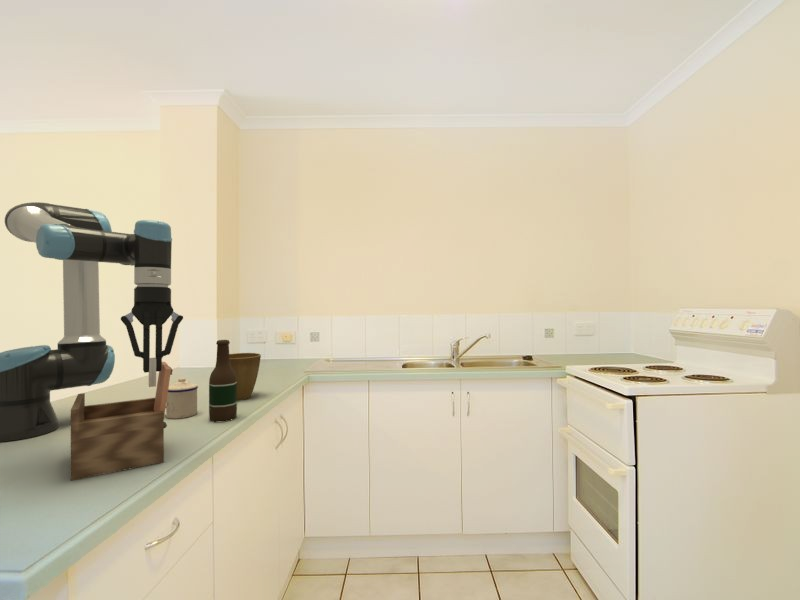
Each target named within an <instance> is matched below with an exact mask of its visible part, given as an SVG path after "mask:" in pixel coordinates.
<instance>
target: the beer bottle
mask: <svg viewBox="0 0 800 600" xmlns="http://www.w3.org/2000/svg"><path fill="white" fill-rule="evenodd" d="M230 343H231V342H230V340H229V339H218V340H217V341H216V343H215V344H216V345H217V347H216V360H215V366H214V367H213V368H214V369H213V370H212V371H211V373H210V375H209V380H208V382H209V383H208V415H209V417H208V418H209V420H210V421H211V422H213V421H214V422H213V423H217V422H216V421H225V422H227V421H226V420H229V421H232V420H231V419H233V420H234V419H236V417H238V416H237V414H238V411H237V410H238V400H237V378H236V374H235V371H234V370H233V368H232V367H231V365H230V357H229V354H230V347H229V346H230Z"/></svg>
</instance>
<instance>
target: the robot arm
mask: <svg viewBox="0 0 800 600" xmlns="http://www.w3.org/2000/svg"><path fill="white" fill-rule="evenodd" d="M4 224H5V225H4V226H5V227H6V229H7V231H8V232H9V233H10V234H11V235H13V237H15V238H17V239H18V240H21V241H23V242H29V243H35V246H36V250H37V253H38V254H39V256H40V257H42V258H44V259H45V258H46V259H47V258H48V259H54V260H59V261H62V283H63V284H62V285H63V287H62V288H63V290H62V291H63V292H62V293H63V295H62V296H63V298H62V299H63V337H62V338H61V339H60V340H59V341H58V342H57V349H52V347H50V345H48V344H47V345H46V344H43V345H42V344H41V345H35V346H32V345H31V346H27V347H26V346H25V347H20V348H14V349H8V350H4V351H1V352H0V442H1V443H2V442H10V441H17V440H23V439H29V438H34V437H37V436H42V435H46V434H49V433H51V432H53V431H55V430H58V428H59V419H58V417H57V414H56V412H55V409H54V407H53V405H52V403H51V392H52V391H57V390H58V391H59V390H66V389H71V388H73V389H74V388H78V387H90V386H92V385H99V384H102V383H105V382H106V381H107V380H108V379H110V377H111V375H112V373H113V372H114V367H115V361H116V360H115V359H116V355H115V352H114V348H113V346H111V345H109V344H107V340H106V338H104V337H103V336H101V331H100V330H101V329H100V328H101V324H100V321H101V320H100V319H101V318H100V279H99V278H100V277H99V276H100V275H99V274H100V272H99V271H100V270H99V267H100V266H99V263H109V264H120V265H123V266H131V267H132V266H134V267H133V269H134V272H133V273H134V277H133V278H134V280H133V281H134V282H133V284H134V285H136V286H135V287H134V288H133V306H132V308H131V312H129V313H127V314H125V315H122V316H121V317H120V321H121V322H122V323H123V324H124V326H125V328H126V331H127V334H128V337H129V340H130V344H131V347H132V352H133V355H134V357H137V358H141V359H142V361H143V362H142V370H143V373H148V387H149V388H151V387H152V388H153V387H155V388H156V387H157V372H158V373H159V371H161V369H162V362H163V358H164V357H166V356H169V355H170V354H171V352H172V349H173V346H174V342H175V338H176V334H177V331H178V328H179V325H180V323H181V322H182V320H183V319H184V315H181V314H178V313H177V312H175V311H174V308H173V306H172V289H171V287H169V286H171V285H172V242H173V238H172V229H171V228H172V227H171V226H170V224H169V223H166V222H164V221H159V220H152V219H141V220H137V221H136V222H135V224H134V229H133V233H125V232H124V233H123V232H116V231H112V226H111V223H110V221H109V219H108V217H107V216H106V215H105V214H104V213H102V212H100V211H97V210H96V211H95V210H91V209H88V208H80V207H73V206H67V205H60V204H53V203H48V202H36V201H34V202H32V201H31V202H26V203H25V202H24V203H21V204H18V205H15V206H13V207H12V208H10V209H8V211H7V212H6V214H5V216H4ZM133 317H134V318H135V319H136V320H137V321H138V322H139V323H140V324H141V325H142V326H143V327H142V328H143V330H142V331H143V333H142V334H143V337H142V338H143V339H142V340H143V341H142V349H143V350H142V351H140V347H139V344H138V339H137V337H136V333H135V330H134V327H133V324H132V323H133V322H134V318H133ZM170 317H171V322H172V323H171V325H170V329H169V334H168V336H167V340H166V344H165V346H164V349H163V325H164V324H165V323H166V322H167V321H168V319H169V318H170ZM152 325H153V326H155V347H154V349H155V351H154V352H155V353H154V354H155V355H154V356H155V357H150V354H151V353H150V350H151V349H150V345H151V344H150V343H151V342H150V339H151V337H150V336H151V334H150V333H151V326H152Z"/></svg>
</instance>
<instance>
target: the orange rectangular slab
mask: <svg viewBox="0 0 800 600" xmlns="http://www.w3.org/2000/svg"><path fill="white" fill-rule="evenodd" d="M172 375H173V369H172V367H171V366H170V365H168V363H167V362H166V361H162V369H161V371H158V377H157V382H156V391H155V397H154V398H155V403H154V412H160V411H163V412H164V415H165V412H166V408H165V407H166V401H167V394H168V387H169V386H170V379H171V376H172Z"/></svg>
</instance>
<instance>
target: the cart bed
mask: <svg viewBox="0 0 800 600" xmlns="http://www.w3.org/2000/svg"><path fill="white" fill-rule="evenodd" d="M85 394H86V393H83V392H81V393H77V396H76V398H75V400H74V402H73V404H72V405H71V409H70V481H75V480H81V479H85V478H90V476H91V477H95V476H94V475H96V476H100V475H99V474H101V475H104V474H103V473H106V474H110V473H109V472H111V473H115V472H114V471H116V472H120V471H119V470H121V471H125V470H124V469H127V470H130V469H129V468H132V469H136V468H135V467H137V468H140V466H142V467H145V465H147V466H150V464H152V465H155V464H154V463H157V464H161V463H160V462H162V463H164V462H165V460H164V458H165V457H164V455H165V450H164V449H165V447H164V445H165V442H164V441H165V439H164V438H165V437H164V436H165V435H164V434H165V433H164V431H165V429H166V428H167V426H168V425H167V423H166V422H165V414H164V412H163V411H160V412H154V403H155V397H149V398H140V399H132V400H124V401H115V402H105V403H99V404H98V403H97V404H89V405H86V403H85V401H86V399H85V398H86V396H85Z"/></svg>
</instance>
